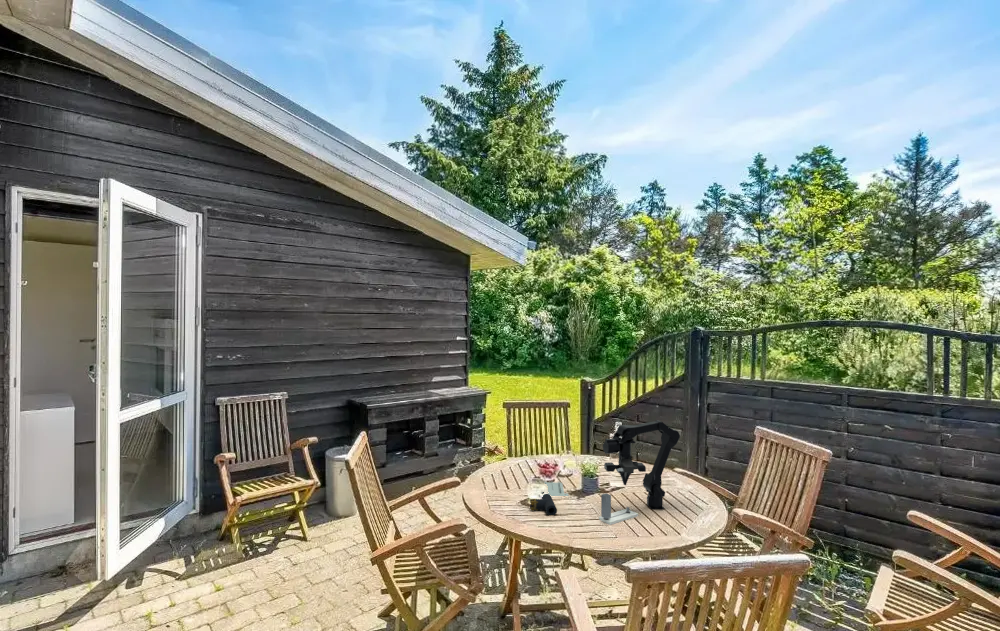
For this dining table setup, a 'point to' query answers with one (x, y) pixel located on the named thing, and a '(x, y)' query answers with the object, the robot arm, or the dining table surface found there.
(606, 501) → the gray metal block
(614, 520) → the bolt plate
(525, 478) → the dining table surface
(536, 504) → the pipe connector
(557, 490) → the metal bracket
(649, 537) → the dining table surface
